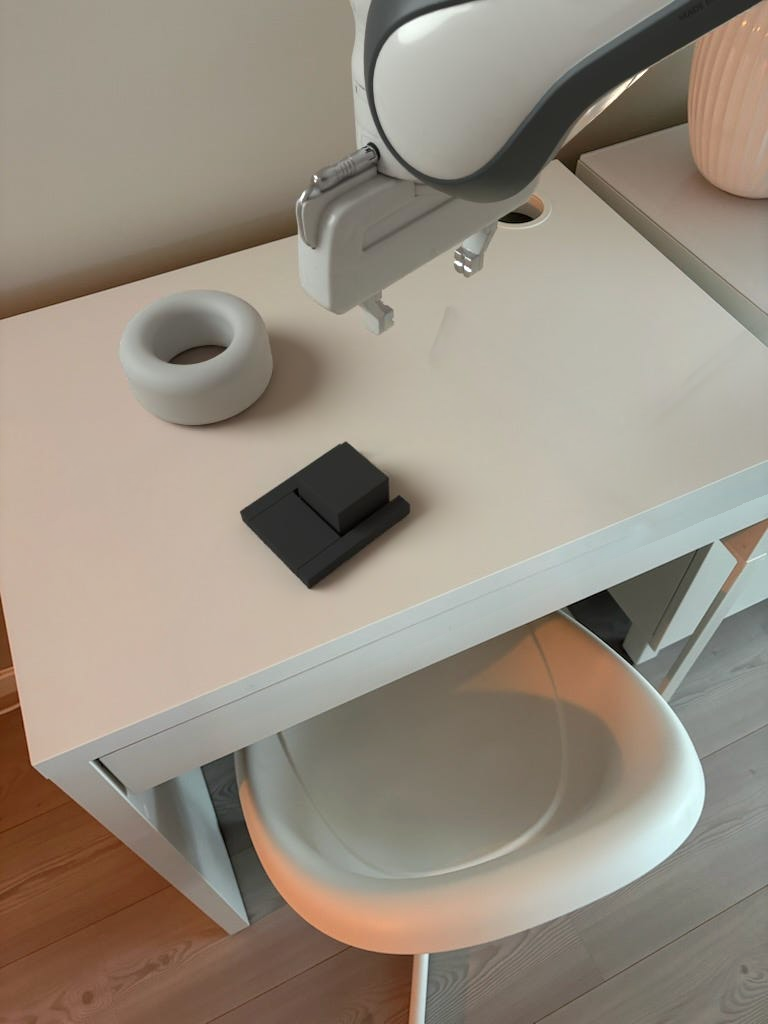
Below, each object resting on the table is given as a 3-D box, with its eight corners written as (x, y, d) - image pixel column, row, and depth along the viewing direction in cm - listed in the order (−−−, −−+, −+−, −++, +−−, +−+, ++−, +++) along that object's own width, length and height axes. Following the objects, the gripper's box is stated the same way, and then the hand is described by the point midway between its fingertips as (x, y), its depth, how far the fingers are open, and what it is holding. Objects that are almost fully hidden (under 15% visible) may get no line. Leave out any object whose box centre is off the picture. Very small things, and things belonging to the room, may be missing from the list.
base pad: (410, 513, 70) (410, 503, 68) (309, 589, 65) (307, 581, 64) (341, 452, 74) (339, 443, 73) (242, 520, 70) (239, 511, 68)
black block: (389, 504, 70) (389, 477, 67) (340, 540, 68) (337, 514, 65) (348, 467, 73) (345, 440, 70) (300, 501, 71) (295, 474, 67)
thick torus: (109, 415, 78) (87, 368, 72) (170, 321, 86) (154, 273, 81) (244, 442, 75) (231, 395, 70) (293, 343, 83) (286, 294, 78)
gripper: (328, 208, 41) (348, 387, 52) (572, 76, 48) (543, 258, 60) (260, 163, 44) (293, 343, 55) (500, 45, 51) (486, 225, 63)
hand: (424, 298), depth 57 cm, fingers open, 8 cm apart
